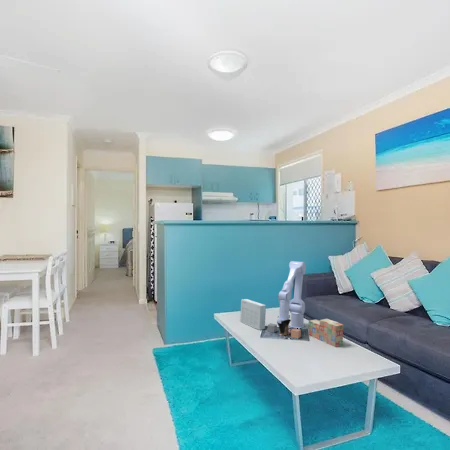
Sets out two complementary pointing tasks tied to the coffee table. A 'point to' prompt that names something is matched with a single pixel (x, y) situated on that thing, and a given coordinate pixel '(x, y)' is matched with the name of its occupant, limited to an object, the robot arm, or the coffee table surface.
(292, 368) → the coffee table surface
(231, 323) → the coffee table surface
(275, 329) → the grey cube
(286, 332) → the walnut block
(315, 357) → the coffee table surface
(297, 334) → the terracotta cube
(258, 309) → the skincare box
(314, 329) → the stack of blocks
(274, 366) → the coffee table surface
